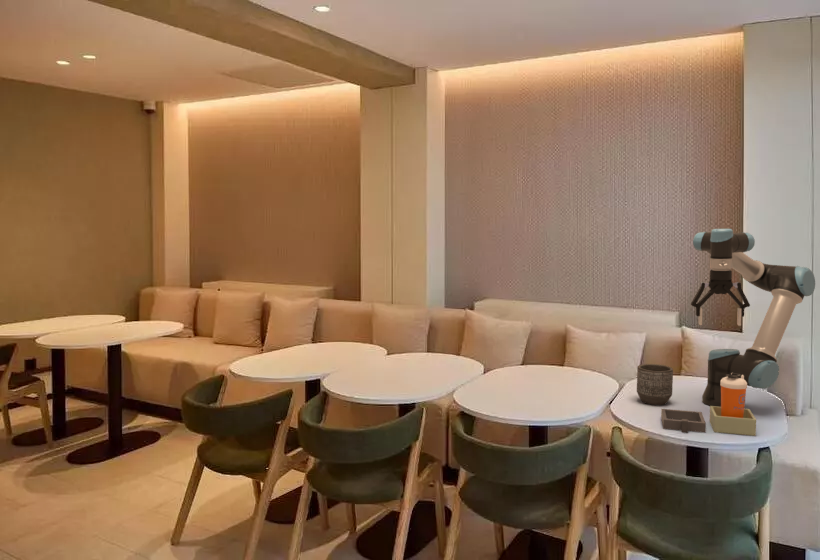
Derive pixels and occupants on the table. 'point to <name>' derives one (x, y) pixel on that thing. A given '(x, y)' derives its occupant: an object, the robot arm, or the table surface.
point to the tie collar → (683, 420)
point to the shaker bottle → (733, 395)
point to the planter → (654, 383)
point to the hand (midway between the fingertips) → (719, 324)
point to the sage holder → (732, 422)
